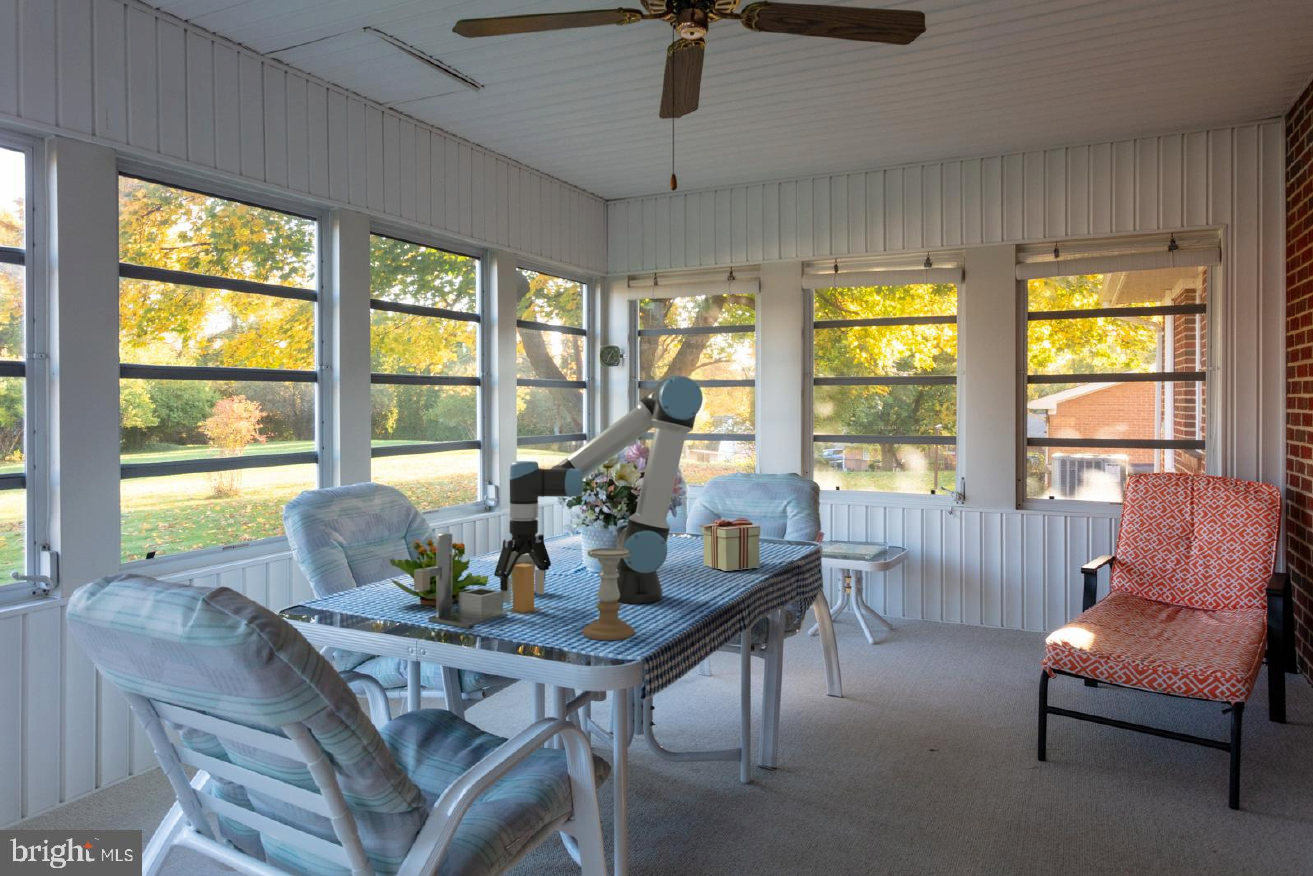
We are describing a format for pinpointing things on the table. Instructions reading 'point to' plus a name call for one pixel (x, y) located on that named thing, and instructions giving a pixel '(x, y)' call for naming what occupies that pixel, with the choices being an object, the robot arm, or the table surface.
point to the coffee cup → (522, 560)
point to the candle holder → (608, 598)
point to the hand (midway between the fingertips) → (523, 598)
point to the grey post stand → (471, 603)
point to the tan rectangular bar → (523, 587)
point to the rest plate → (523, 612)
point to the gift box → (731, 544)
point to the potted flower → (430, 561)
